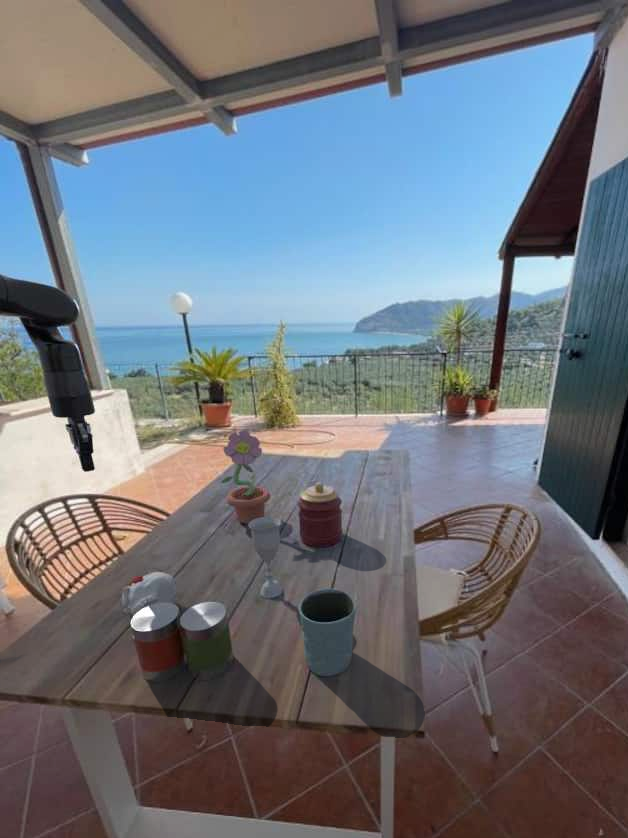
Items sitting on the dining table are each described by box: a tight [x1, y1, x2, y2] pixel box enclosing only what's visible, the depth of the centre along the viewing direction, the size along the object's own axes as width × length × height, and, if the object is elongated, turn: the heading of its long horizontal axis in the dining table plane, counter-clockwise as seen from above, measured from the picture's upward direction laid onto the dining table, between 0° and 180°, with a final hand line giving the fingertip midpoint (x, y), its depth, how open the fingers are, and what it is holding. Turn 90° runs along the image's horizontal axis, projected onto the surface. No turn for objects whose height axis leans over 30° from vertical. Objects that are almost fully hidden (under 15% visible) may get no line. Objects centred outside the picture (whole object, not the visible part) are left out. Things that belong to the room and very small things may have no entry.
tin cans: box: [130, 601, 234, 683], centre depth 70 cm, size 16×8×11 cm, turn 91°
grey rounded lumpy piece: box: [121, 570, 178, 619], centre depth 85 cm, size 9×11×15 cm
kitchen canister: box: [297, 482, 343, 548], centre depth 115 cm, size 13×13×18 cm
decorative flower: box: [220, 430, 271, 525], centre depth 125 cm, size 15×14×30 cm
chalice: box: [247, 516, 283, 599], centre depth 90 cm, size 7×7×18 cm
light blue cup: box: [298, 588, 357, 677], centre depth 71 cm, size 10×10×12 cm
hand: (88, 470), depth 88 cm, fingers closed
